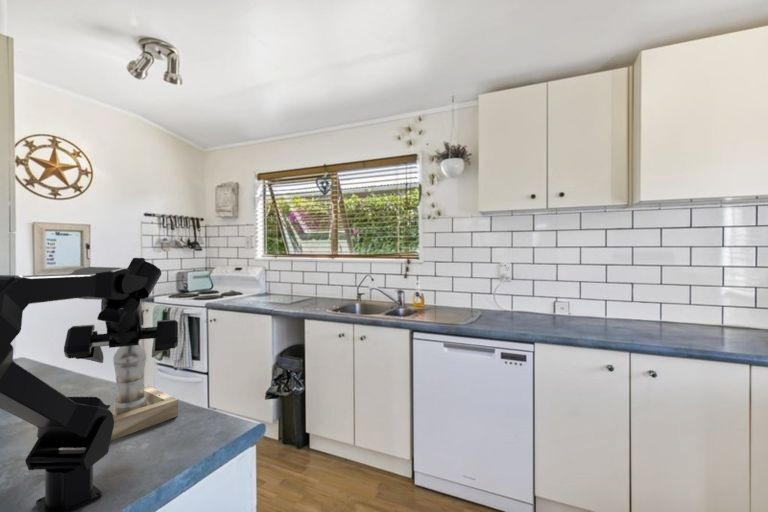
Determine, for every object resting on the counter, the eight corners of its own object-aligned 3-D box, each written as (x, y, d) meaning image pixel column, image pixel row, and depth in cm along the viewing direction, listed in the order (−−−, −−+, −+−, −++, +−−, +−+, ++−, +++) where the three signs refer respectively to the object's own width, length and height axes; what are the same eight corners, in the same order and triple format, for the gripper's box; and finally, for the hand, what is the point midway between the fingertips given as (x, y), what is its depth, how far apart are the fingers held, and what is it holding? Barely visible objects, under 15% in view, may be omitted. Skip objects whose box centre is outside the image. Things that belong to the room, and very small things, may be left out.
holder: (178, 415, 86) (178, 399, 86) (109, 441, 74) (109, 422, 74) (148, 401, 94) (148, 386, 93) (81, 422, 82) (81, 405, 82)
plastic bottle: (149, 410, 88) (149, 329, 88) (143, 423, 82) (143, 335, 82) (117, 414, 86) (117, 331, 85) (108, 428, 80) (108, 337, 79)
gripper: (178, 283, 80) (177, 324, 89) (68, 286, 70) (80, 330, 80) (178, 326, 73) (176, 364, 83) (56, 334, 64) (70, 377, 73)
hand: (128, 358), depth 80 cm, fingers open, 9 cm apart
